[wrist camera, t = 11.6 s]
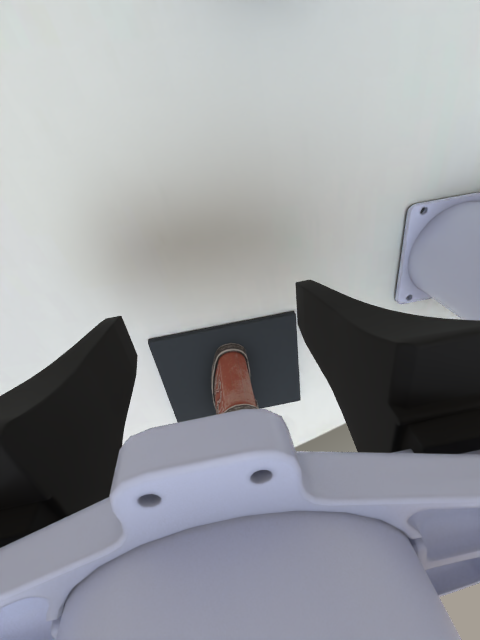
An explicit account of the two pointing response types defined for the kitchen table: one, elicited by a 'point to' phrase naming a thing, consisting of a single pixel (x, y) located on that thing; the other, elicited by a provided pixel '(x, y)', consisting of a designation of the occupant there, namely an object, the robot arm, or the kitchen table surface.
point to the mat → (198, 355)
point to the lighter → (231, 380)
